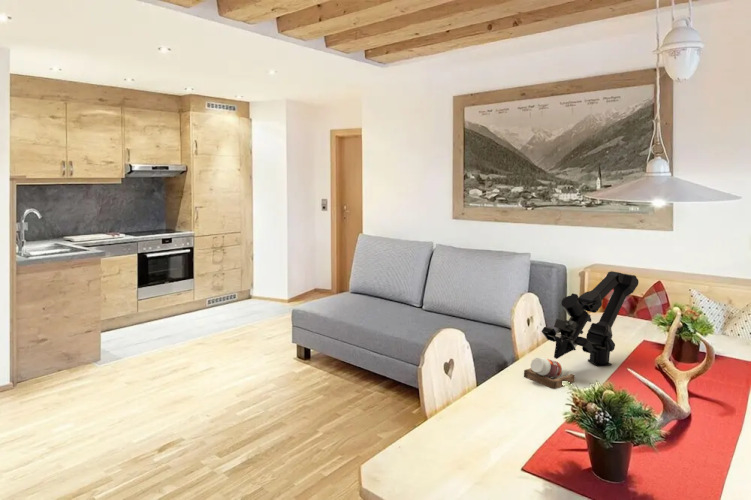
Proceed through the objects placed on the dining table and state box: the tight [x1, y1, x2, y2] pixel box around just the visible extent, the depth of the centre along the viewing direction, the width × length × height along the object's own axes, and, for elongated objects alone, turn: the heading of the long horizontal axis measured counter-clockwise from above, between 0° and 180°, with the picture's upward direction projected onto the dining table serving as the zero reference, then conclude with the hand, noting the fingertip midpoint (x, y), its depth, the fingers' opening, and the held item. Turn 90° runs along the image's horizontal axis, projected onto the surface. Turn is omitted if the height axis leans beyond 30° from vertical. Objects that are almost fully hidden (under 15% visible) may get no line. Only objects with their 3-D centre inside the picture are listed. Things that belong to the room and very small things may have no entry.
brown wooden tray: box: [523, 367, 576, 390], centre depth 188 cm, size 12×13×2 cm
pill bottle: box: [530, 357, 563, 379], centre depth 186 cm, size 6×6×11 cm
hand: (555, 358), depth 189 cm, fingers closed
